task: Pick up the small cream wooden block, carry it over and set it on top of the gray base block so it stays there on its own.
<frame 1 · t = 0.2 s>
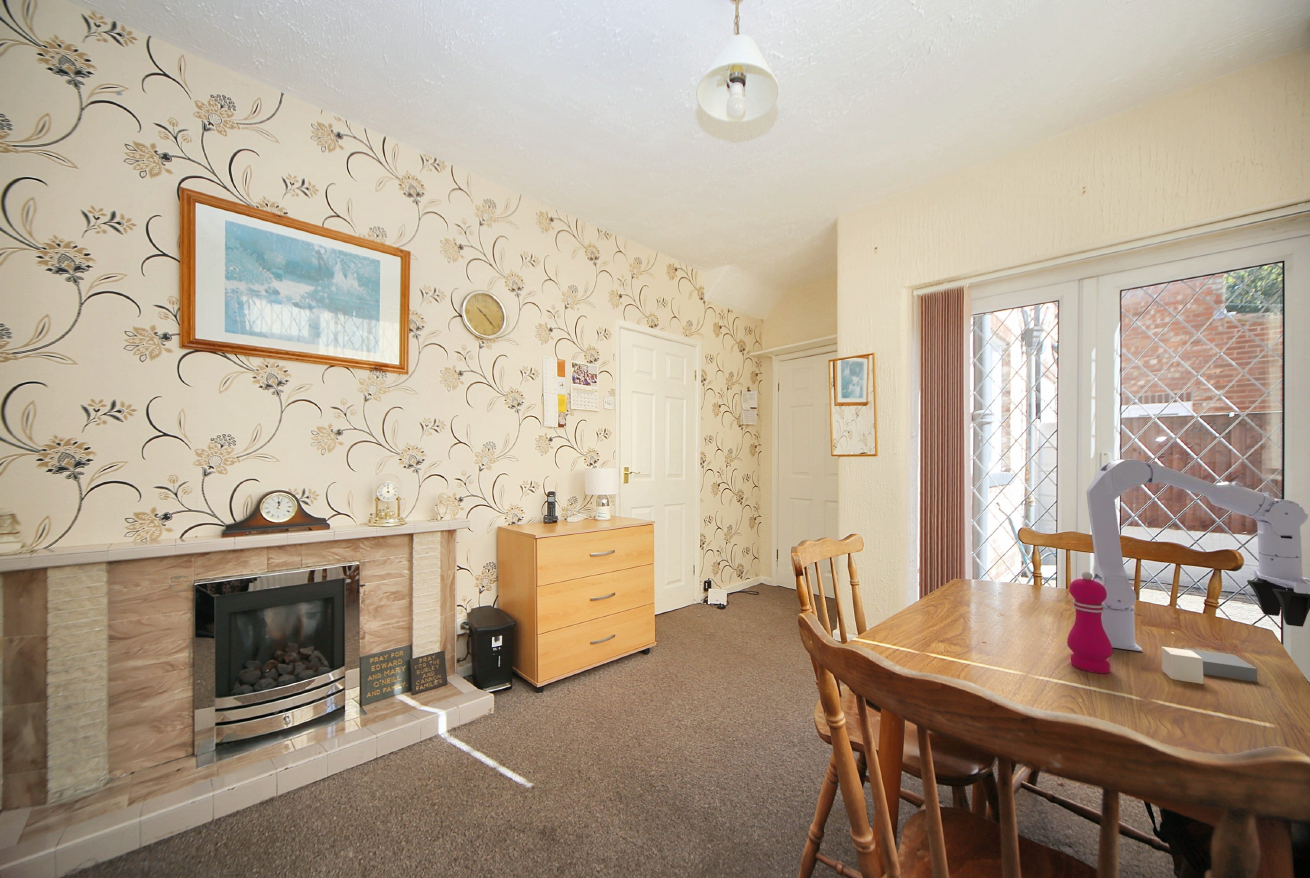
hand: (1282, 620, 104), 10 cm above the table, tool pointing down, fingers open, 7 cm apart
pepper mill: (1090, 668, 104), on the table
cream block: (1182, 677, 99), on the table
gray base block: (1217, 672, 102), on the table
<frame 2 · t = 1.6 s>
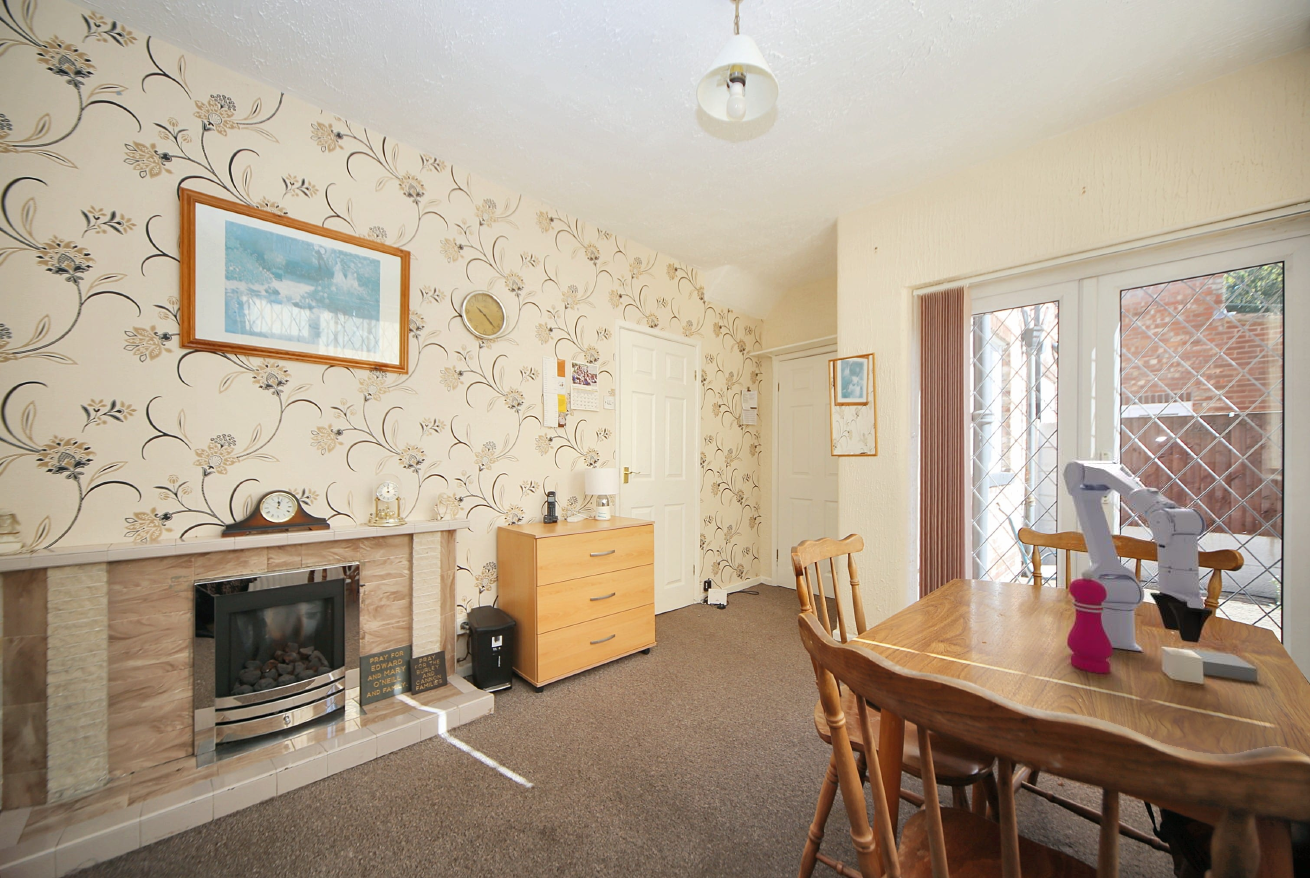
hand: (1180, 635, 100), 8 cm above the table, tool pointing down, fingers open, 7 cm apart
nothing on the table moved.
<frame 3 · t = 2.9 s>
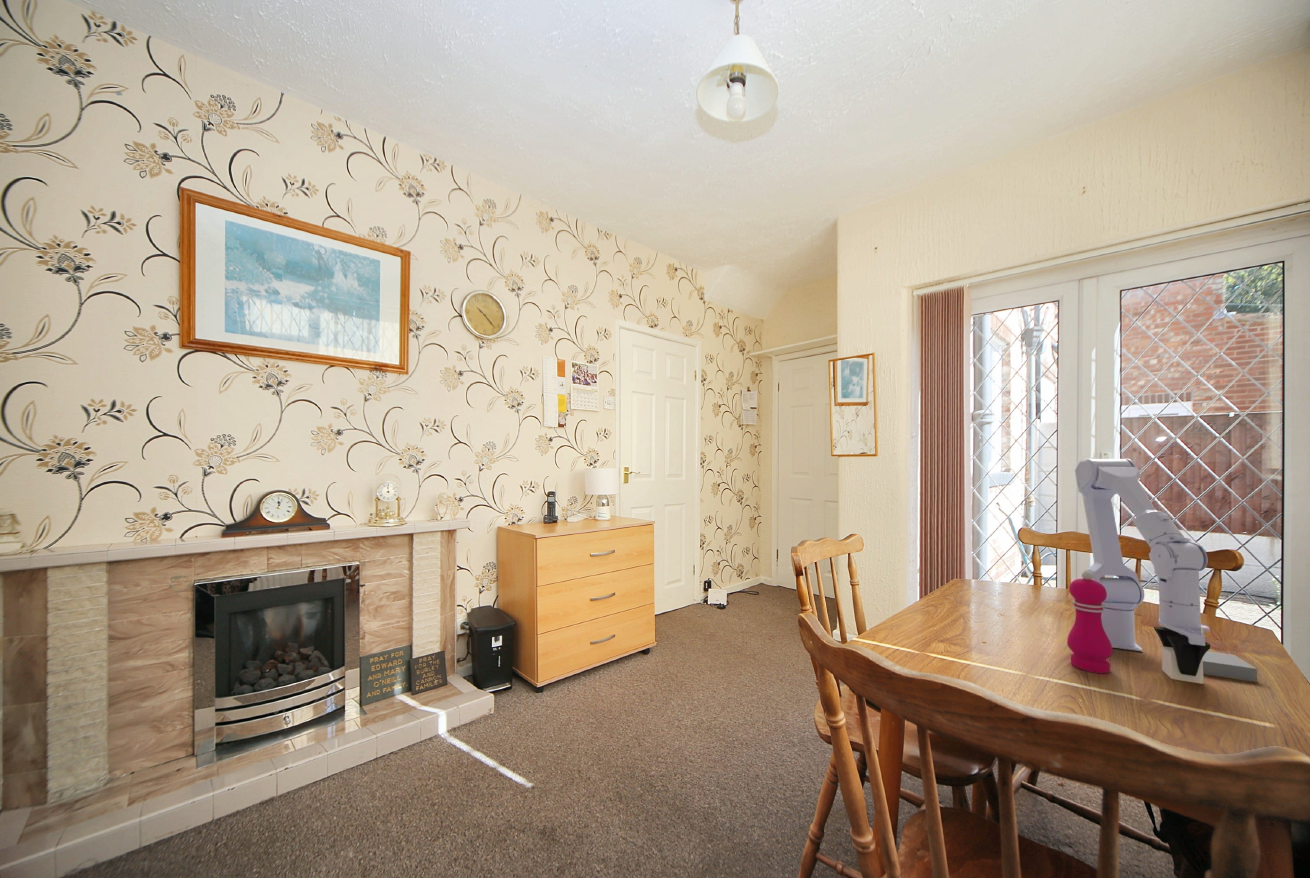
hand: (1182, 669, 99), 1 cm above the table, tool pointing down, fingers closed on cream block, 4 cm apart
cream block: (1182, 677, 99), on the table, touching gripper
everything else where it was.
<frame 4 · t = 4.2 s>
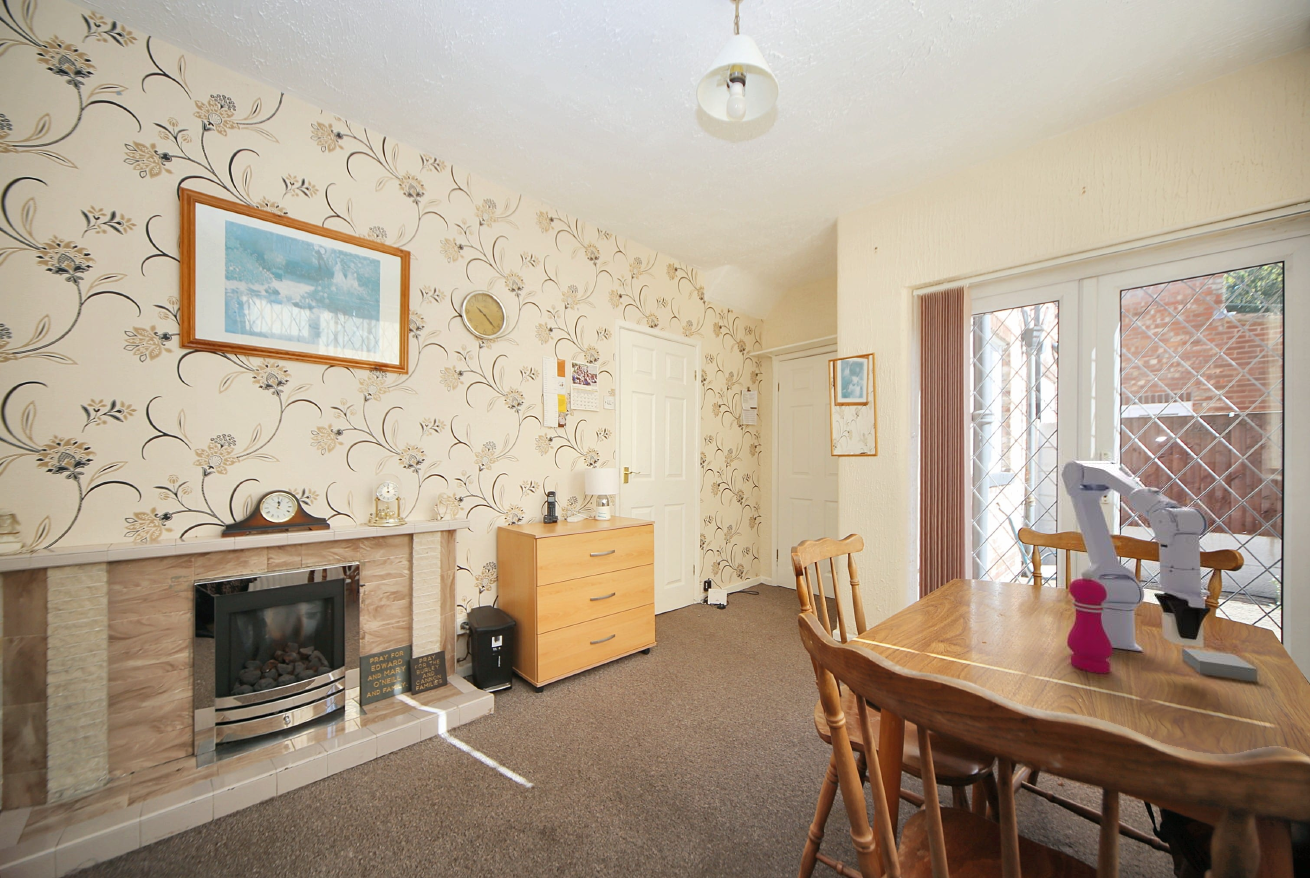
hand: (1182, 634, 100), 8 cm above the table, tool pointing down, fingers closed on cream block, 4 cm apart
cream block: (1182, 641, 100), point 7 cm above the table, touching gripper
everything else where it was.
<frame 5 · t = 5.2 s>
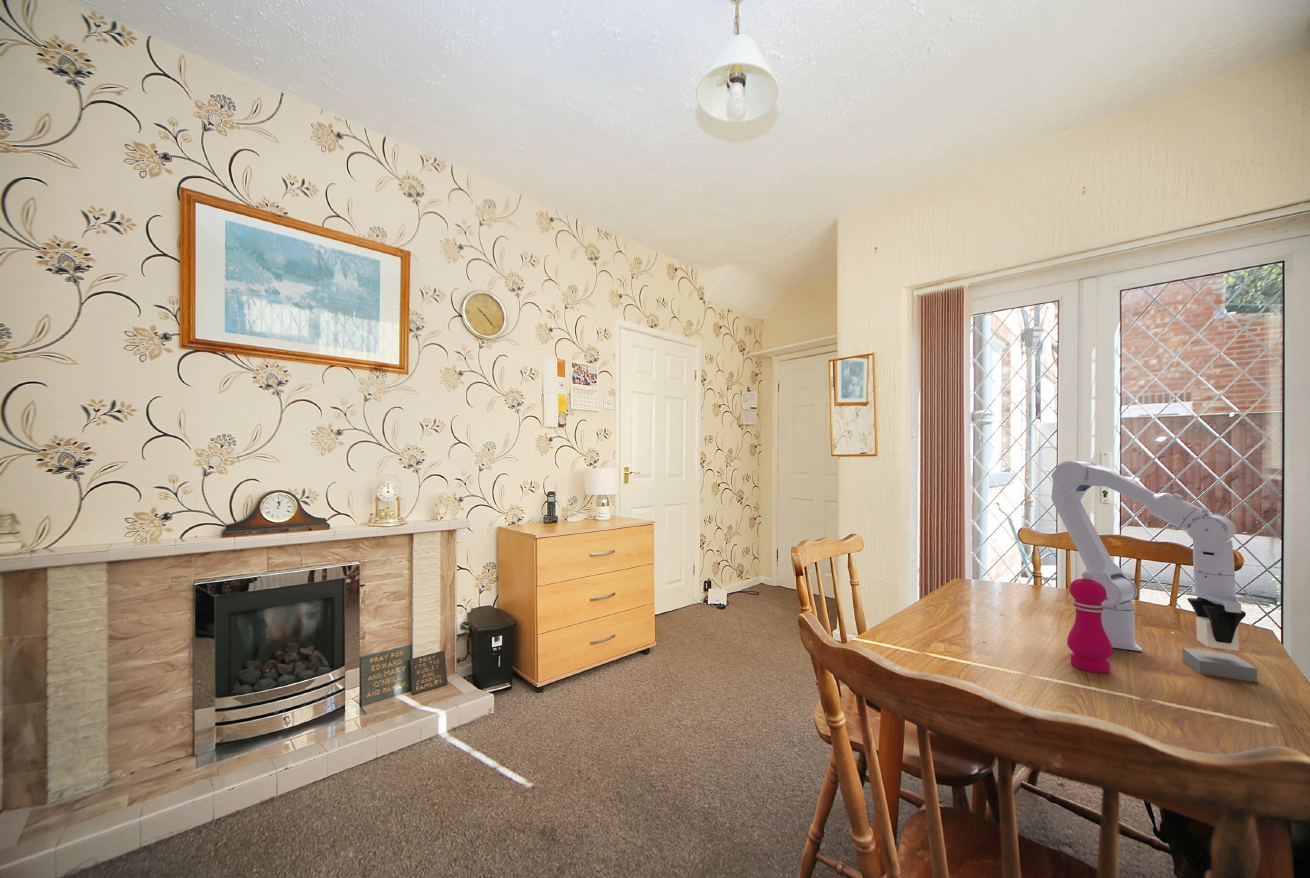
hand: (1216, 638, 103), 7 cm above the table, tool pointing down, fingers closed on cream block, 4 cm apart
cream block: (1217, 645, 103), point 5 cm above the table, touching gripper
everything else where it was.
when the fingers open (5 cm above the table, at t = 5.8 s): cream block drops 1 cm, point 3 cm above the table.
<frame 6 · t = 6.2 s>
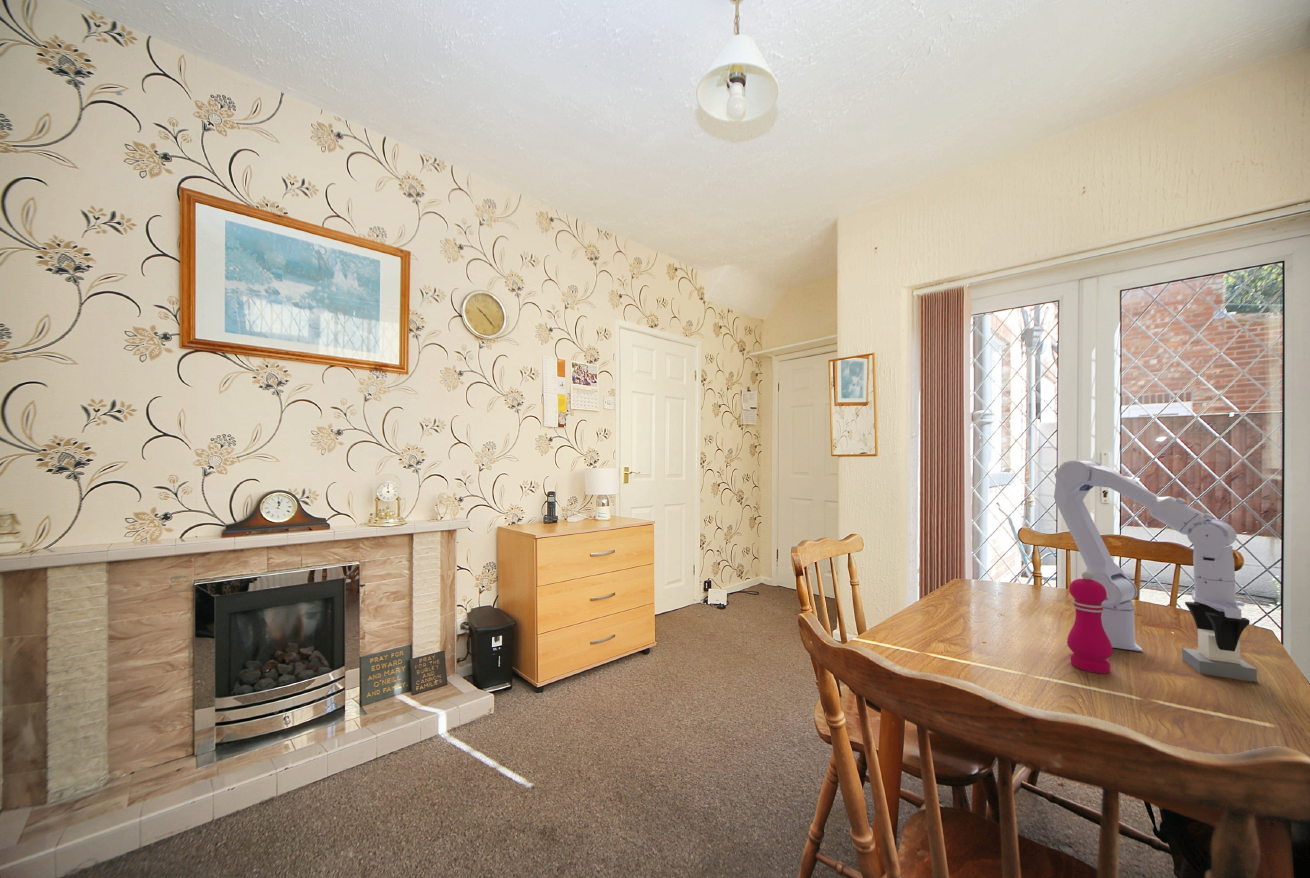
hand: (1216, 643, 103), 5 cm above the table, tool pointing down, fingers open, 7 cm apart
cream block: (1218, 658, 102), point 3 cm above the table
everything else where it was.
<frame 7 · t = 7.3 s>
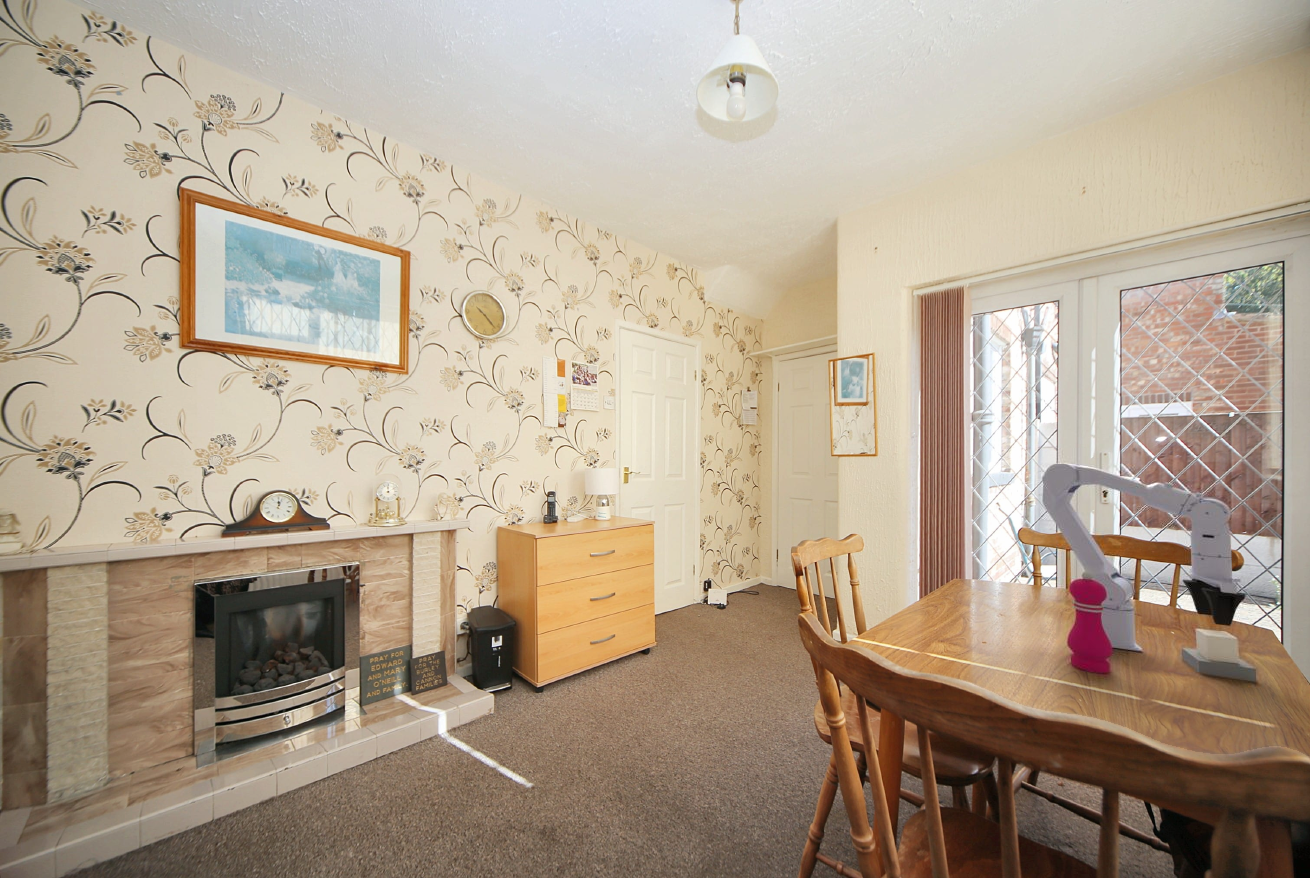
hand: (1213, 619, 105), 10 cm above the table, tool pointing down, fingers open, 7 cm apart
cream block: (1217, 657, 102), point 3 cm above the table, touching gray base block
gray base block: (1217, 672, 103), on the table, touching cream block
everything else where it was.
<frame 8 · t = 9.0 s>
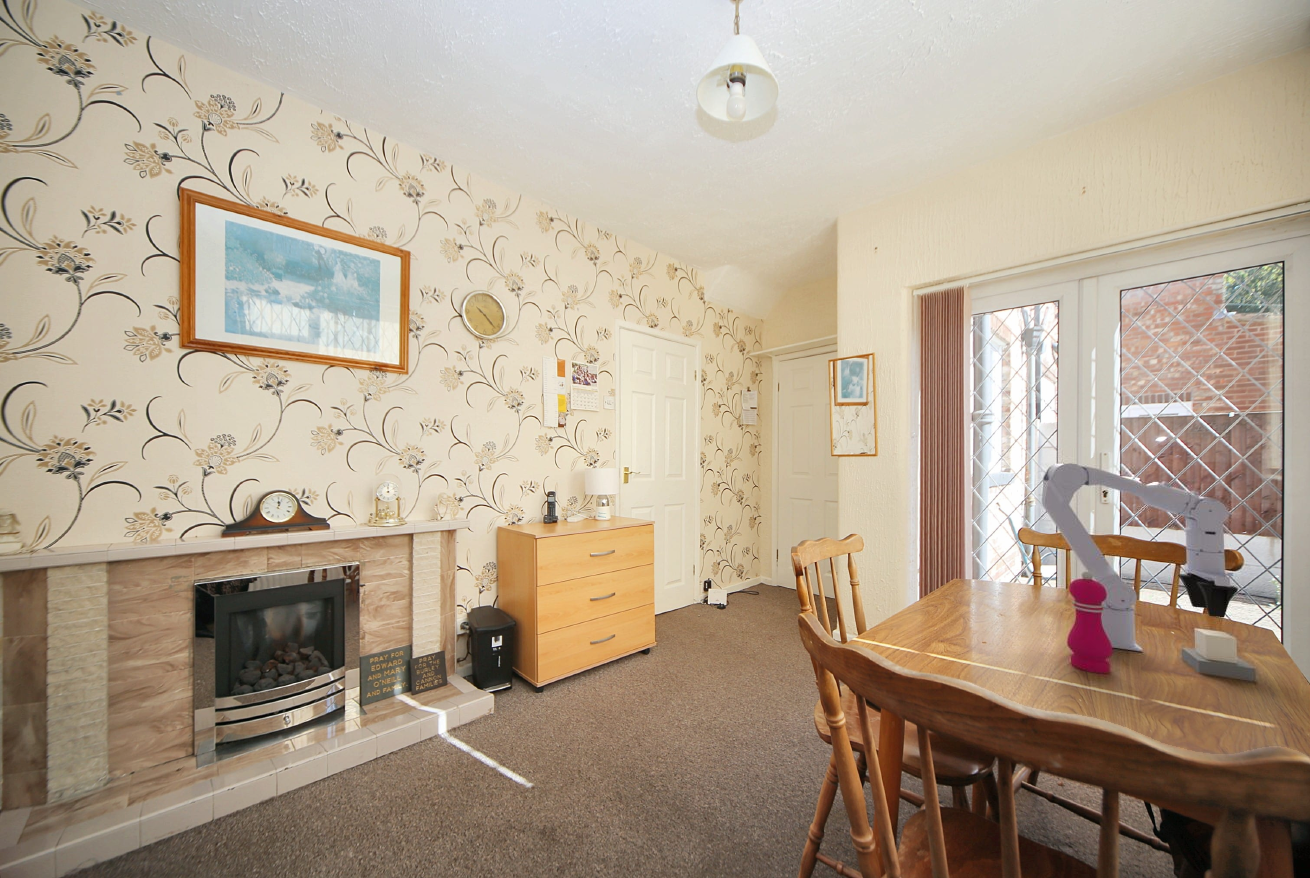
hand: (1207, 611, 110), 10 cm above the table, tool pointing down, fingers open, 7 cm apart
cream block: (1215, 657, 103), point 3 cm above the table
gray base block: (1217, 672, 103), on the table
everything else where it was.
at the end: cream block 0.4 cm off-centre on the gray base block, point 3.0 cm above the gray base block's base; cream block tilted 1°; the gripper is holding nothing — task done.
